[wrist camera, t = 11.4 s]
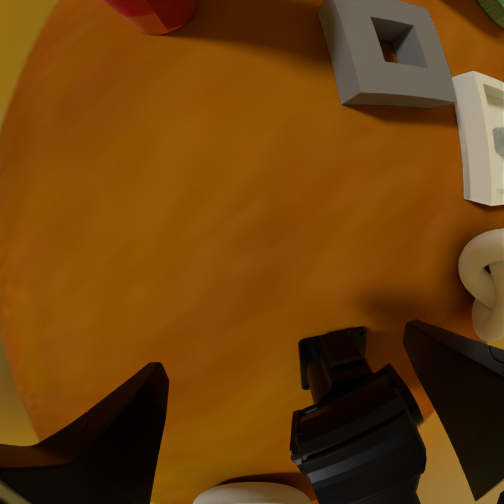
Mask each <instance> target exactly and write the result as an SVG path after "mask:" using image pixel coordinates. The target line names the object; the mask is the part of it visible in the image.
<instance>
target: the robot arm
mask: <svg viewBox="0 0 504 504" xmlns="http://www.w3.org/2000/svg"><path fill="white" fill-rule="evenodd" d="M362 331H363V332H362ZM360 332H362V333H361V334H359V333H360ZM366 333H367V332H366V330H365V328H364V327H359V328H355V329H350V330H345V331H340V332H335V333H331V334H326V335H322V336H317V337H311V338H306V339H302V340H300V341H299V343H298V347H299V359H300V371H301V385H302V389H304V390H309V389H310V390H311V394H312V398H313V402H314V405H311V406H309V407H307V408H304V409H302V410H297V411H295V412H293V419H292V427H291V440H290V452H291V454H292V455H291V460H292V461H293V462H294V463H296V464H297V466H298V468H299V469H300V471H301V472H302V473H303V474H304V475H305V476H309V478H310V481H311V483H312V485H313V488H314V491H315V494H316V497H317V500H318V503H319V504H421V503H420V501H419V498H418V496H417V493H416V490H417V486H418V483H419V479H420V476H421V474H422V473H424V471H425V466H426V448H425V445H424V443H423V441H422V439H421V436H420V434H419V432H418V429H417V426H419V425H420V424H422V423H423V417H422V414H421V412H420V409H419V407H418V405H417V403H416V401H415V399H414V397H413V395H412V393H411V391H410V390H409V388H408V387H407V385H406V384H405V383H404V381H403V380H402V379H401V378H400V376H399V375H398V374H397V372H396V371H395V370H394V369H393V367H392V366H391V365H390V363H389V364H387V365H385V366H384V368H383V369H381V370H379V371H378V372H376V373H373V371H372V369H371V367H370V365H369V364H368V362H367V360H366V358H365V346H366ZM303 344H306V345H303ZM403 344H404V347H405V349H406V352H407V354H408V356H409V358H410V361H411V363H412V365H413V368H414V370H415V373H416V375H417V377H418V379H419V381H420V382H421V384H422V386H423V388H424V390H425V392H426V393H427V395H428V397H429V399H430V401H431V403H432V405H433V407H434V409H435V411H436V412H437V414H438V416H439V418H440V420H441V422H442V424H443V426H444V429H445V431H446V433H447V434H448V437H449V439H450V441H451V443H452V445H453V448H454V450H455V452H456V454H457V457H458V459H459V461H460V464H461V466H462V469H463V471H464V473H465V476H466V478H467V481H468V483H469V486H470V488H471V491H472V494H473V497H474V499H475V501H477V500H479V499H480V498H482V497H483V496H484V495H486V494H487V493H488V492H490V491H491V490H492V489H494V488H495V487H496V486H498V485H499V484H500V483H501V482H503V481H504V350H502V349H499V348H496V347H493V346H490V345H489V346H488V345H487V344H485V343H482V342H479V341H476V340H473V339H470V338H467V337H464V336H461V335H459V334H456V333H453V332H450V331H447V330H444V329H441V328H439V327H436V326H433V325H430V324H427V323H424V322H422V321H419V320H412V321H409V322H407V323H406V326H405V332H404V338H403ZM306 385H307V386H306ZM168 391H169V379H168V376H167V374H166V372H165V370H164V367H163V365H162V364H161V363H160V362H150V363H148V364H147V365H146V366H145V367H143V368H142V369H141V370H140V371H138V372H137V373H136V374H135V375H133V376H132V377H131V378H130V379H128V380H127V381H126V382H124V383H123V384H122V385H121V386H119V387H118V388H117V389H115V390H114V391H113V392H112V393H110V394H109V395H108V396H106V397H105V398H104V399H103V400H101V401H100V402H99V403H97V404H96V405H95V406H93V407H92V408H91V409H90V410H88V412H86V413H84V414H83V415H82V416H80V417H79V418H78V419H76V420H75V421H73V422H72V423H71V424H69V425H67V426H66V427H64V428H63V429H61V430H60V431H58V432H56V433H55V434H53V435H51V436H50V437H48V438H46V439H45V440H43V441H41V442H39V443H37V444H35V445H32V446H15V445H6V444H0V504H150V501H151V495H152V488H153V483H154V477H155V471H156V466H157V460H158V455H159V450H160V445H161V440H162V435H163V430H164V425H165V420H166V413H167V401H168ZM497 504H504V491H503V492H501V493H500V496H499V499H498V502H497Z"/></svg>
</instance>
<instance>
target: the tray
mask: <svg viewBox="0 0 504 504" xmlns="http://www.w3.org/2000/svg"><path fill="white" fill-rule="evenodd" d="M452 81H453V85H454V89H455V94H456V98H457V103H454V108H455V113H456V118H457V124H458V131H459V138H460V146H461V155H462V167H463V184H464V199H466V200H470V201H474V202H478V203H482V204H486V205H490V206H495V205H504V155H498V154H497V153H496V152H495V148H494V140H493V132H492V130H493V128H495V127H504V82H501V81H499V80H496V79H494V78H492V77H489V76H486V75H484V74H481V73H478V72H475V71H471V72H468V73H464V74H461V75H458V76H455V77H452Z"/></svg>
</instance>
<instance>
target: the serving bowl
mask: <svg viewBox="0 0 504 504" xmlns="http://www.w3.org/2000/svg"><path fill="white" fill-rule="evenodd" d="M193 504H312V503H311V501H310V499H309V498H308V497H307V496H306V495H305V494H304V493H303V492H301V491H300V490H298V489H296V488H294V487H291V486H288V485H284V484H278V483H270V482H239V483H230V484H224V485H219V486H216V487H213V488H210V489H208V490H206V491H204V492H203V493H201V494H200V495H199V496H198V497H197V498H196V499H195V500H194V502H193Z"/></svg>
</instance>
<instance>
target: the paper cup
mask: <svg viewBox="0 0 504 504" xmlns="http://www.w3.org/2000/svg"><path fill="white" fill-rule="evenodd" d="M104 1H105V2H106V3H108V4H109V5H110V6H111V7H112V8H114V9H115V10H116V11H117V12H118V13H119V14H121V15H122V16H123V17H124V18H125V19H126V20H128V21H129V22H130V23H131V24H132V25H133V26H135V27H136V28H137V29H138V30H140V31H141V32H143V33H145V34H149V35H161V34H166V33H169V32H172V31H174V30H176V29H178V28H180V27H182V26H183V25H185V24H186V23H187V22H188V21H189V20H190V19H191V18H192V17H193V15H194V13H195V11H196V8H197V0H104Z"/></svg>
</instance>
